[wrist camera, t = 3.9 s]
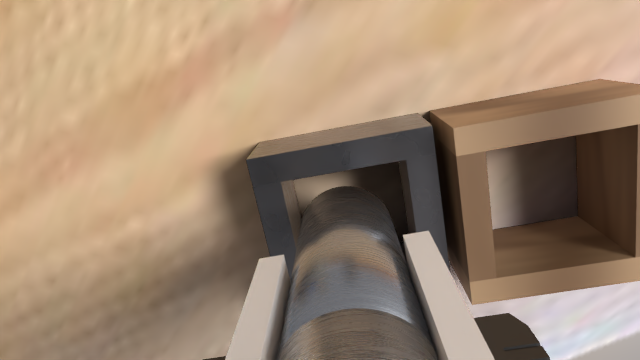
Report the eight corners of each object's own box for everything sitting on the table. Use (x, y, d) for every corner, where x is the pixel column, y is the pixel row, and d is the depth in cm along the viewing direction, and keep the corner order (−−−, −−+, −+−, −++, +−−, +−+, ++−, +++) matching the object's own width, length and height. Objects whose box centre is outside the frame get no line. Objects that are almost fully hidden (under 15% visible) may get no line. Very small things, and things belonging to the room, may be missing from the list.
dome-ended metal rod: (310, 277, 18) (259, 817, 5) (291, 195, 17) (174, 629, 4) (398, 263, 17) (560, 802, 5) (385, 178, 16) (547, 594, 4)
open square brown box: (447, 256, 21) (471, 304, 17) (429, 110, 19) (453, 128, 15) (600, 232, 20) (663, 277, 16) (599, 79, 18) (670, 88, 14)
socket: (292, 280, 21) (285, 317, 18) (259, 142, 19) (245, 159, 16) (436, 258, 21) (452, 292, 18) (417, 113, 19) (432, 125, 16)
